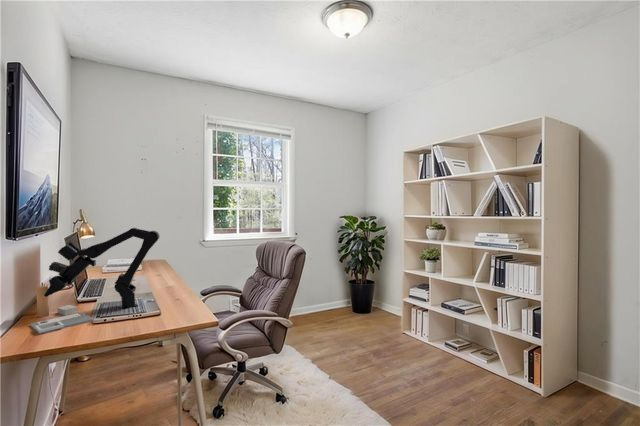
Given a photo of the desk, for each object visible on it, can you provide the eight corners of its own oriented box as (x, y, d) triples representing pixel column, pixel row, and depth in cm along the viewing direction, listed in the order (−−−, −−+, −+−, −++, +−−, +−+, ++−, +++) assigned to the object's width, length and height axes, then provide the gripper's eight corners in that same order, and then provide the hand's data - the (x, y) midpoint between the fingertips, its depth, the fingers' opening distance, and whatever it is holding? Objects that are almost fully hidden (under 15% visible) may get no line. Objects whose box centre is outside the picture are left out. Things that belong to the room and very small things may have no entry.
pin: (50, 315, 151) (48, 286, 151) (38, 317, 148) (37, 288, 148) (47, 313, 154) (46, 285, 154) (36, 316, 151) (35, 287, 150)
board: (94, 321, 142) (94, 317, 142) (39, 334, 128) (39, 330, 128) (81, 313, 153) (81, 309, 153) (30, 325, 139) (30, 321, 139)
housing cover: (77, 312, 155) (77, 306, 155) (65, 315, 151) (65, 309, 151) (70, 310, 159) (69, 304, 159) (57, 313, 154) (57, 307, 154)
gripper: (69, 252, 162) (42, 277, 158) (54, 258, 144) (23, 286, 141) (89, 267, 165) (62, 292, 161) (76, 275, 147) (46, 303, 144)
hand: (49, 293), depth 152 cm, fingers open, 9 cm apart
